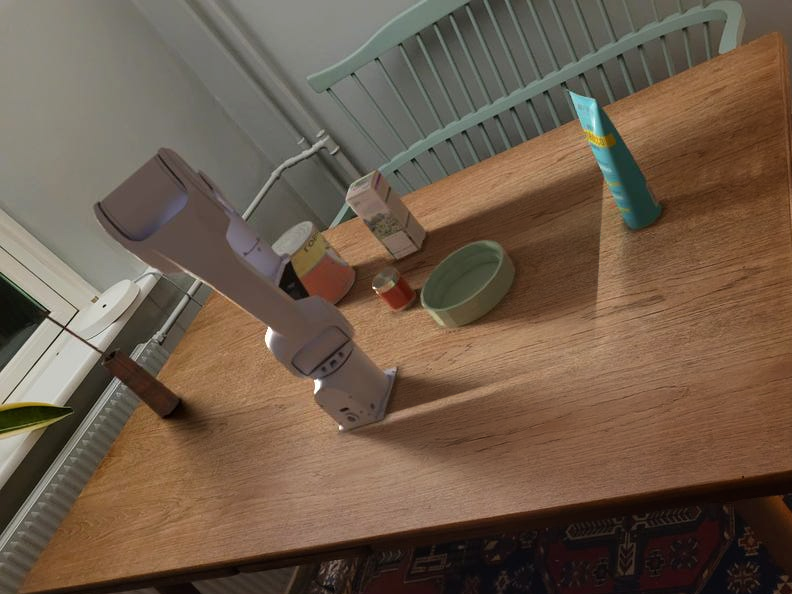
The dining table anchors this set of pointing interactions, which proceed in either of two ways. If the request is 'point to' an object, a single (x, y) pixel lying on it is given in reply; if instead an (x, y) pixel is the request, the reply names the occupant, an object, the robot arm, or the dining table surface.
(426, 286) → the bowl
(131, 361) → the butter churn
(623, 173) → the tube
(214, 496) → the dining table surface
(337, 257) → the canned food
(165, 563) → the dining table surface
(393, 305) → the tin can
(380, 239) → the syrup box
